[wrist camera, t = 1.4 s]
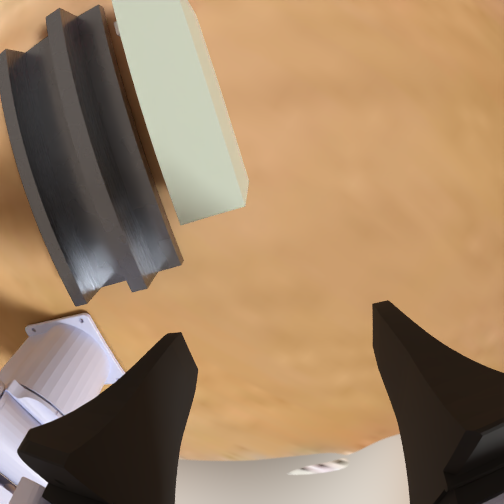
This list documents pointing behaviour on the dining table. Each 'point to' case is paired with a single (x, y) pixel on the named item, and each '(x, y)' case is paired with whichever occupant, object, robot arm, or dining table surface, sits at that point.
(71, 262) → the rail
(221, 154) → the sage green block
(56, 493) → the robot arm
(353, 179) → the dining table surface
